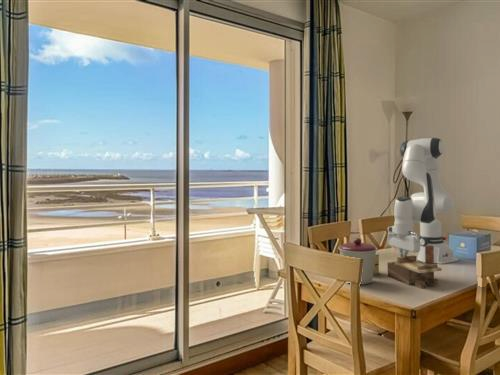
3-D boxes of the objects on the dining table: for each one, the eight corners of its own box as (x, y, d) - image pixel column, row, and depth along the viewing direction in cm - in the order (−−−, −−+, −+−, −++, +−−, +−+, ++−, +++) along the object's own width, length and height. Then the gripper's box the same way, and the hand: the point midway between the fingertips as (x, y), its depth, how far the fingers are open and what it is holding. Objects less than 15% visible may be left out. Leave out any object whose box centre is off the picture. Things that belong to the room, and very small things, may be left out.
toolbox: (407, 273, 208) (407, 260, 208) (440, 285, 187) (440, 270, 187) (387, 276, 204) (387, 262, 204) (418, 288, 183) (418, 273, 183)
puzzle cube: (351, 273, 211) (351, 254, 211) (362, 269, 218) (362, 251, 217) (367, 277, 204) (367, 257, 203) (379, 273, 210) (379, 254, 210)
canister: (347, 288, 185) (347, 242, 184) (332, 278, 203) (332, 235, 202) (384, 286, 189) (384, 240, 187) (366, 275, 206) (366, 234, 205)
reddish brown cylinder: (430, 277, 201) (429, 245, 200) (435, 279, 198) (435, 246, 197) (423, 278, 200) (423, 245, 199) (429, 280, 196) (429, 247, 196)
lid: (414, 262, 203) (414, 255, 202) (441, 270, 186) (441, 262, 186) (394, 264, 199) (394, 257, 199) (419, 273, 182) (419, 265, 182)
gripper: (423, 232, 192) (423, 262, 192) (395, 226, 211) (395, 253, 212) (412, 233, 190) (412, 263, 190) (385, 227, 209) (385, 254, 210)
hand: (403, 257), depth 201 cm, fingers closed
